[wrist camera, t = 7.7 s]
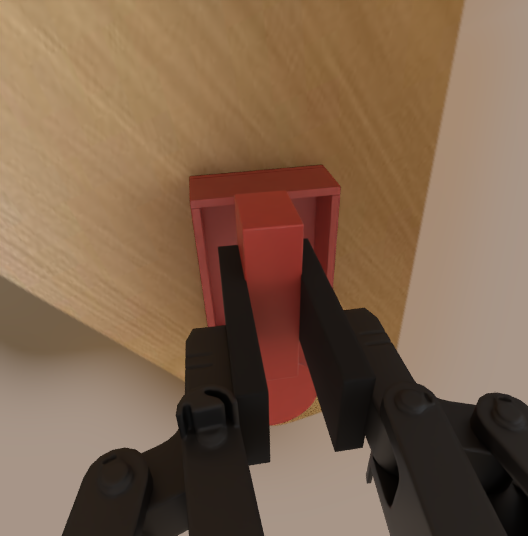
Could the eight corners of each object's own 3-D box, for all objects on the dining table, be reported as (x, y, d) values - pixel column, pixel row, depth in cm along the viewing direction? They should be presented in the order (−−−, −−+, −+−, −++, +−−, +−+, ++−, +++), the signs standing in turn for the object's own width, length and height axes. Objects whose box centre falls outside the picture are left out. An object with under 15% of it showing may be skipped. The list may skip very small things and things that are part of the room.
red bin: (315, 314, 33) (328, 346, 30) (210, 327, 32) (212, 362, 29) (322, 164, 26) (341, 186, 23) (189, 176, 25) (189, 200, 22)
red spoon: (200, 196, 13) (203, 233, 11) (318, 187, 14) (341, 220, 12) (223, 398, 19) (227, 449, 17) (306, 387, 20) (321, 435, 17)
